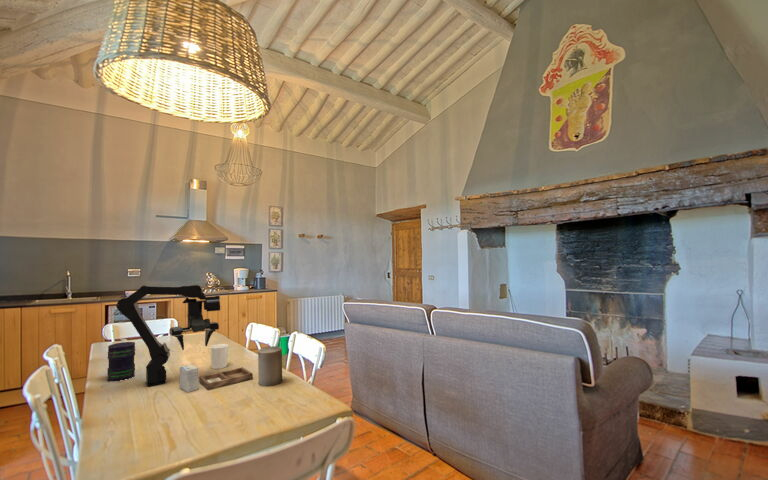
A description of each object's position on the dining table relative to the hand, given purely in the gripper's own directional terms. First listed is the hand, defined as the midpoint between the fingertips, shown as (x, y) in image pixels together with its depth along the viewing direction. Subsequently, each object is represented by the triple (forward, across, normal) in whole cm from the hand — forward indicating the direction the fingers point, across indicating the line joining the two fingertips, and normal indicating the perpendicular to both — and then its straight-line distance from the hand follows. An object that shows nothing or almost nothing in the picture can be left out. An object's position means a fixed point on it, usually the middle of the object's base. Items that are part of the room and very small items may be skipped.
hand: (194, 348), depth 155 cm
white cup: (+13, +13, +9) cm, 21 cm away
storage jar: (+13, -24, +23) cm, 36 cm away
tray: (+13, +9, -14) cm, 21 cm away
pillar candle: (+13, +22, -29) cm, 39 cm away
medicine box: (+13, -5, -13) cm, 19 cm away
